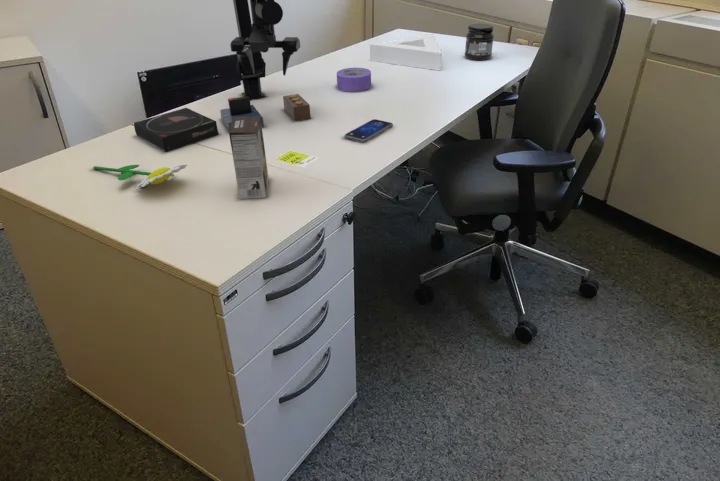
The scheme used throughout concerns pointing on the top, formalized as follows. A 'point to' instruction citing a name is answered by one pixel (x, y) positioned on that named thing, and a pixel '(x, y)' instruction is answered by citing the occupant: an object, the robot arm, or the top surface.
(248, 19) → the robot arm
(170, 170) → the decorative flower
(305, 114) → the token holder
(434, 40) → the triangle block
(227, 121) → the dial panel
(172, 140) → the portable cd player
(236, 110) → the black block red tip
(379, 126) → the smartphone
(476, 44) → the supplement container
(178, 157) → the top surface
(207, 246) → the top surface
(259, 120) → the coffee box
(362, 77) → the tape roll
